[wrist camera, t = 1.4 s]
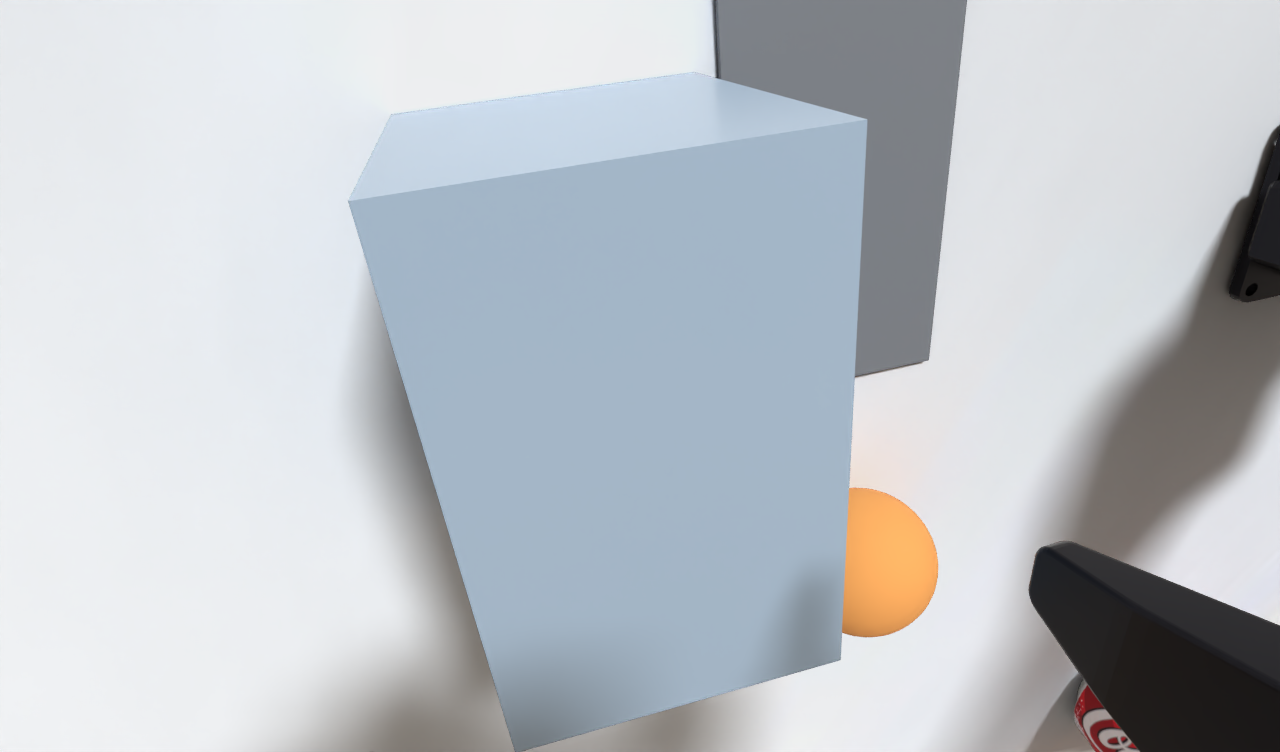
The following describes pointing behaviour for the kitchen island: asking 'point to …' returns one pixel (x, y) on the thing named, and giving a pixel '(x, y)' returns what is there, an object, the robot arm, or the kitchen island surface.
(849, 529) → the ball
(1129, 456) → the kitchen island surface
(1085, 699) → the soda can
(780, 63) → the grey rectangular panel
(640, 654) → the light blue block
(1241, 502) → the kitchen island surface
